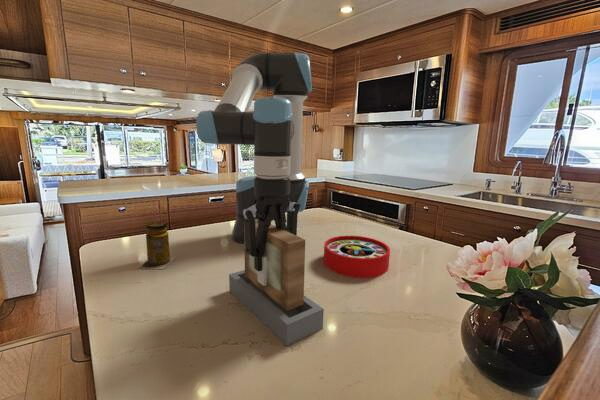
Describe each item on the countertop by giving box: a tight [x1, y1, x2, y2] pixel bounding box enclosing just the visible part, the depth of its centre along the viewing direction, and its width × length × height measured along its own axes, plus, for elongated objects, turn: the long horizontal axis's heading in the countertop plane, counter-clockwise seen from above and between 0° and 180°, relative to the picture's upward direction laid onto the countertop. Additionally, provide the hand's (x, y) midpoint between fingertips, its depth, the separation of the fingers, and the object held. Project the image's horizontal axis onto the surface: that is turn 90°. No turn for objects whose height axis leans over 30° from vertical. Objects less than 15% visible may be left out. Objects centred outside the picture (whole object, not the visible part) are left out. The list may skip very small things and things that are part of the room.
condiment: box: [138, 221, 176, 270], centre depth 90 cm, size 7×8×12 cm
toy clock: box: [323, 235, 391, 279], centre depth 94 cm, size 20×6×20 cm
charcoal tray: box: [228, 269, 325, 347], centre depth 69 cm, size 25×9×4 cm, turn 38°
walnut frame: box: [243, 219, 306, 311], centre depth 67 cm, size 18×4×14 cm, turn 38°
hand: (271, 279), depth 68 cm, fingers closed on walnut frame, 4 cm apart
